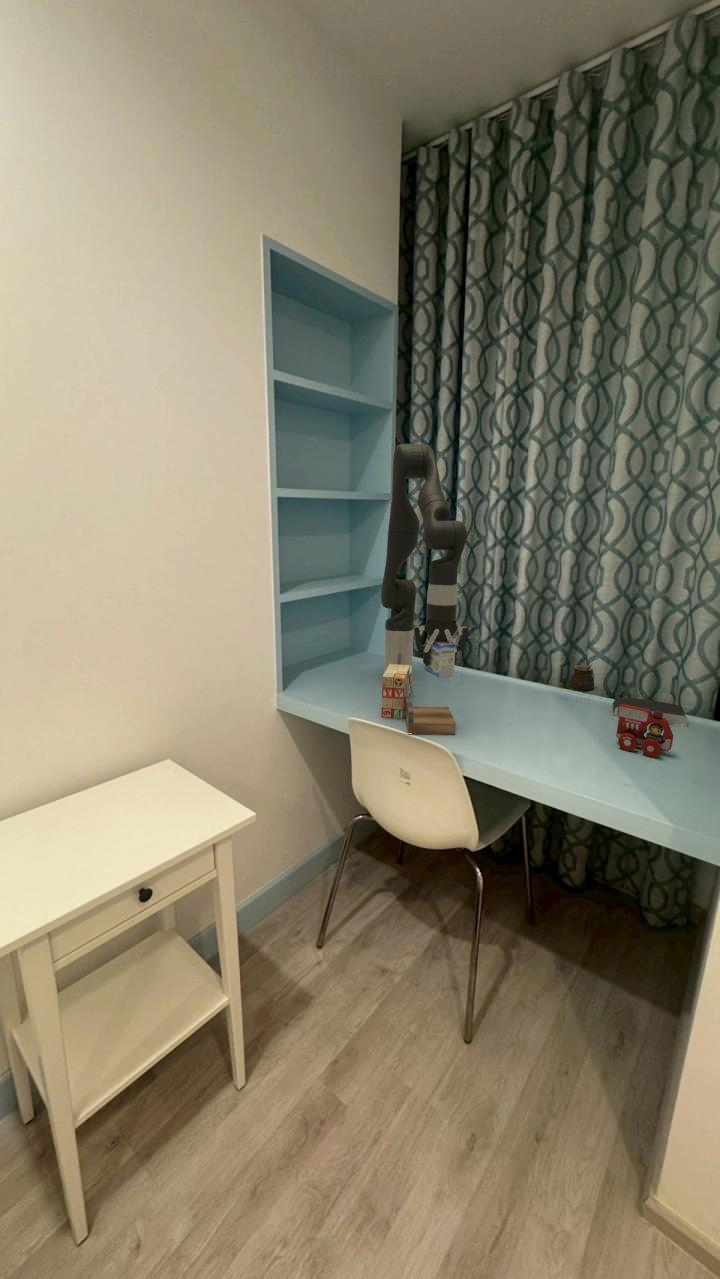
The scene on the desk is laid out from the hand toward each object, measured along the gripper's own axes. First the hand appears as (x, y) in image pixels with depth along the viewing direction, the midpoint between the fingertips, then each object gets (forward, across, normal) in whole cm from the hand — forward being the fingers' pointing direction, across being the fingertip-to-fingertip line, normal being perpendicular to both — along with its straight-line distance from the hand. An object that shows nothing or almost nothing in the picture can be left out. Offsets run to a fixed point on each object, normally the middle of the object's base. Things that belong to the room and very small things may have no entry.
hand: (439, 665), depth 139 cm
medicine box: (+2, 0, 0) cm, 2 cm away
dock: (+17, +2, 0) cm, 17 cm away
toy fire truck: (+17, -48, +13) cm, 53 cm away
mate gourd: (+17, -50, -29) cm, 61 cm away
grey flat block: (+17, -60, -8) cm, 63 cm away
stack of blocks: (+17, +9, -15) cm, 25 cm away
